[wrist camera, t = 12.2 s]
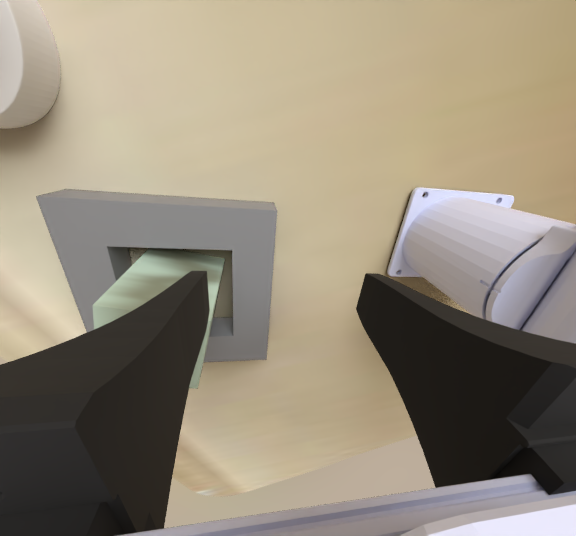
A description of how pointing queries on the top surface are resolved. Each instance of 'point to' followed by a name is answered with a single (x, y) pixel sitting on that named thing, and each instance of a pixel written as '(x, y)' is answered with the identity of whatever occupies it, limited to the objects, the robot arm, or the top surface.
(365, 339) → the top surface
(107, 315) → the sage green block
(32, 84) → the wall hook
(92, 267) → the well block
